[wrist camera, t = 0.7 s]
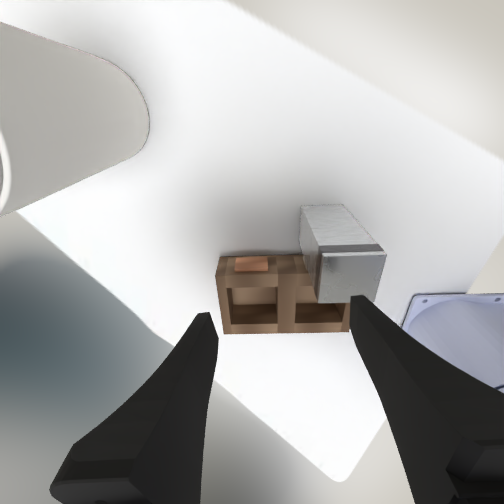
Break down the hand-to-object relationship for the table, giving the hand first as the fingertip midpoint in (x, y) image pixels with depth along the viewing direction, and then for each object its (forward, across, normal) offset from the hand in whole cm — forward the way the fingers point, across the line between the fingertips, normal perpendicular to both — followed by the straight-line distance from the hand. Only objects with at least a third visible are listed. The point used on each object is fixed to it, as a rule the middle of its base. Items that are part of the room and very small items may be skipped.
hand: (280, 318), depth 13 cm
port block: (+10, 0, +6) cm, 12 cm away
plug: (+10, -4, 0) cm, 11 cm away
